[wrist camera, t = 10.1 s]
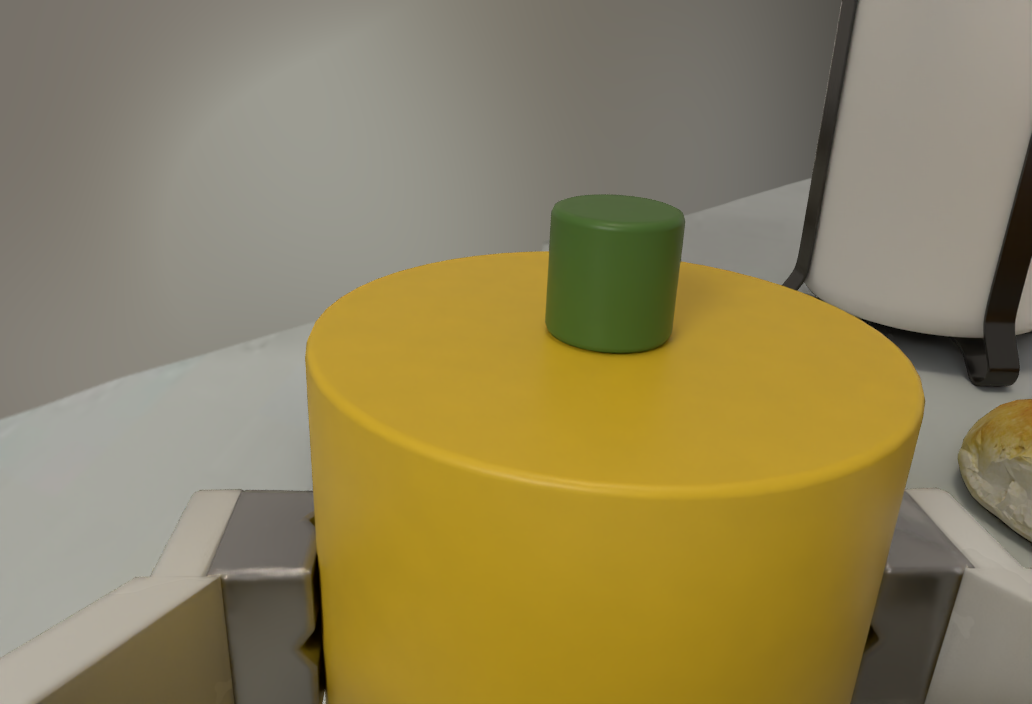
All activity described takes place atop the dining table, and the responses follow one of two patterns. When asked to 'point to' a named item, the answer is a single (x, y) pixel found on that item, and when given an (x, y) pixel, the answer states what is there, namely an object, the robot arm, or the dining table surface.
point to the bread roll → (1002, 464)
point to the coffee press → (928, 175)
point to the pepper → (601, 476)
